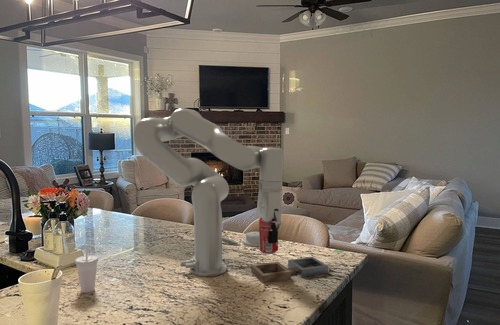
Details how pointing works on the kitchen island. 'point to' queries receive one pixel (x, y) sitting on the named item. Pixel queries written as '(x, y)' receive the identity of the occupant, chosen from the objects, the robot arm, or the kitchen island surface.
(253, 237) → the mechanical component
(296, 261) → the socket
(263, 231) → the soda can
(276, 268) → the stand socket
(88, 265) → the smoothie
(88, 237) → the kitchen island surface
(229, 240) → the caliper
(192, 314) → the kitchen island surface
